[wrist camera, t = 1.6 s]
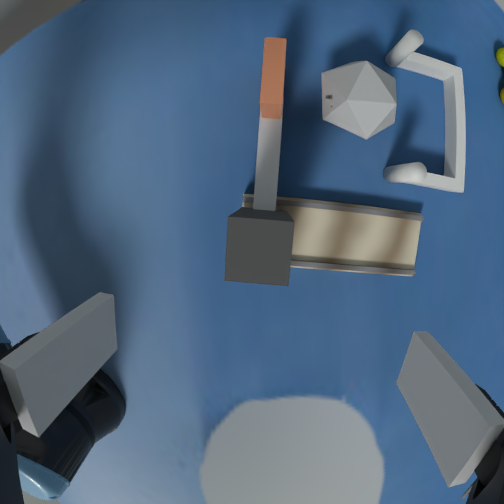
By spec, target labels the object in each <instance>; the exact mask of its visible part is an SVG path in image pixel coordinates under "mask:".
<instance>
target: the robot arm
mask: <svg viewBox="0 0 504 504" xmlns="http://www.w3.org/2000/svg"><path fill="white" fill-rule="evenodd" d="M117 349H118V348H117V336H116V323H115V305H114V295H112V294H107V293H102V292H99V293H97V294H96V295H94V296H93V297H91V298H90V299H88V300H87V301H85V302H84V303H82V304H81V305H79V306H78V307H76V308H75V309H73V310H72V311H70V312H69V313H67V314H66V315H64V316H63V317H61V318H60V319H58V320H57V321H55V322H54V323H53V324H51V325H50V326H48V327H47V328H45V329H44V330H42V331H41V332H38V333H35V334H32V335H30V336H27V337H26V338H24V339H23V340H22V341H20V343H17V344H16V345H14V346H13V348H12V346H11V341H10V340H9V339H8V338H7V336H6V334H5V333H4V331H3V329H2V327H1V325H0V504H24V500H23V495H22V490H23V491H25V492H27V493H28V494H30V495H32V496H35V497H37V498H39V499H42V500H46V501H54V500H57V499H58V498H59V497H60V496H61V495H62V494H63V492H64V491H65V490H66V489H67V487H69V486H70V482H71V481H72V479H73V477H74V476H75V474H76V473H77V471H78V469H79V468H80V466H81V464H82V463H83V461H84V460H85V458H86V456H87V455H88V453H89V452H90V450H91V448H92V447H93V445H94V444H95V443H96V442H97V441H99V440H100V439H102V438H103V437H104V436H106V435H107V434H108V433H111V432H112V431H114V430H115V429H116V428H117V427H118V426H119V425H120V423H121V421H122V420H123V418H124V415H125V404H124V400H123V398H122V395H121V393H120V391H119V390H118V388H117V387H116V385H115V384H114V383H113V381H112V380H111V379H110V378H109V377H108V376H107V375H106V374H105V373H104V372H103V371H101V370H100V368H101V367H102V366H103V365H104V363H105V362H106V361H107V360H108V359H109V358H110V357H111V356H112V355H113V354H114V353H115V351H116V350H117ZM396 384H397V386H398V387H399V389H400V391H401V393H402V395H403V397H404V399H405V401H406V402H407V404H408V406H409V408H410V410H411V412H412V414H413V416H414V418H415V420H416V422H417V424H418V426H419V428H420V430H421V432H422V434H423V436H424V438H425V440H426V442H427V444H428V446H429V448H430V450H431V452H432V454H433V456H434V458H435V460H436V462H437V464H438V467H439V469H440V471H441V473H442V475H443V477H444V480H445V482H446V484H447V486H448V487H451V486H455V485H459V484H462V483H465V482H466V481H467V480H468V478H469V477H470V476H471V475H472V473H473V472H474V471H475V473H476V475H477V479H476V480H475V481H474V482H473V484H472V485H471V486H470V487H469V488H468V490H467V491H466V492H465V493H464V494H463V496H462V498H463V499H464V498H465V497H466V496H467V494H469V493H470V494H469V496H468V499H467V502H466V504H504V413H503V411H502V410H501V409H500V408H499V407H498V406H496V405H497V404H496V403H495V402H494V401H493V400H491V397H490V396H489V395H488V393H487V392H486V391H485V390H484V389H482V388H481V387H479V386H478V385H476V384H474V383H473V381H472V380H471V379H470V378H469V377H468V376H467V374H466V373H465V372H464V371H463V370H462V369H461V368H460V366H459V365H458V364H457V363H456V362H455V361H454V360H453V359H452V357H451V356H450V355H449V354H448V353H447V352H446V351H445V350H444V349H443V348H442V346H441V345H440V344H439V343H438V342H437V341H436V340H435V339H434V338H433V337H432V336H431V335H430V333H429V332H423V331H414V332H413V335H412V338H411V342H410V345H409V348H408V351H407V354H406V357H405V360H404V363H403V366H402V368H401V371H400V374H399V377H398V379H397V382H396Z"/></svg>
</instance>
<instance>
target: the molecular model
mask: <svg viewBox="0 0 504 504" xmlns="http://www.w3.org/2000/svg"><path fill="white" fill-rule="evenodd" d="M496 58H497V61H498V63H499V64H500V65H501V66H502V67H504V48H499V49H498V50H497V52H496ZM500 98H501V101H502V103H503V104H504V88H503V89H502V90H501V92H500Z"/></svg>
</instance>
